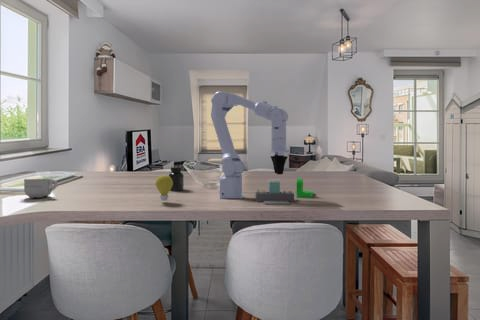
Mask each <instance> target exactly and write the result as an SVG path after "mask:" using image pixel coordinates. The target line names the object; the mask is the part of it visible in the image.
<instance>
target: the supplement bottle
mask: <svg viewBox="0 0 480 320" xmlns="http://www.w3.org/2000/svg"><path fill="white" fill-rule="evenodd" d="M182 171H183V170H182V167H181V166H175V167H174V166H171V167H170V173H169V174H168V176H169V177H171V179H172V181H173V185H172V187H171V190H170V191H169V192H182V191H184V184H185V181H184V179H185V178H184V177H185V176H184V173H183V172H182Z"/></svg>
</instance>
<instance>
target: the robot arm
mask: <svg viewBox="0 0 480 320" xmlns="http://www.w3.org/2000/svg"><path fill="white" fill-rule="evenodd" d="M210 102H211V111H210V118H211V122H212V124H213V127H214V129H215V135H216V137H217V141H218V143H219V147H220V150H221V152H222V158H221V160H220V161H221V171H222V173H223V174H224V176H220V177H219V190H218V193H219V199H244V195H243V174H244V171H245V170H246V169H245V168H246V167H245V163H244V162H243V161H242V160H241V158H240V155H239V154H238V153H237V151H236V150H235V146H234V142H233V140H232V136H231V134H230V131H229V127H228V123H227V121H226V116H227V114H228V113H229V112H230V111H231V110H232V108H234V107H237V106H242V107H244V108H247V109H250V110H252V111H253V112H254V114H255V115H256V116H258V117H261V118H263V119H266V120H269V121H271V150H270V153H273V154H274V155H271V156H270V158H271V162H272V165H273V170H274V171H273V172H274V174H277V175H283V174H284V170H285V169H284V168H285V164H286V162H287V159H288V156H285V155H284V154H285V153H286V154H287V153H290V150H287V121H288V119H289V114H288V112H287V111H286V110H285V109H284V108H279V107H278V106H277V105H272V104H270V103H268V101H265V100H263V101H261V100H259V101H258V102H255V101H252V100H250V99H248V98H246V97H243V96H240V95H239V94H235V93H230V92H224V91H222V90H218V91H216V92H215V93H214V94H213V96H212V98H211V99H210Z"/></svg>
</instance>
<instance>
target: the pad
mask: <svg viewBox="0 0 480 320" xmlns="http://www.w3.org/2000/svg"><path fill="white" fill-rule="evenodd" d="M263 204H264V205H269V206H270V205H272V206H273V205H274V206H275V205H291V202H288V201H263Z"/></svg>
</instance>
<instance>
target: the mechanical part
mask: <svg viewBox="0 0 480 320" xmlns="http://www.w3.org/2000/svg"><path fill="white" fill-rule="evenodd" d="M313 196H314V191H313V190H304V180H303V178H302V177H301V178H296V198H303V199H305V198H306V199H312V198H313Z"/></svg>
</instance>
